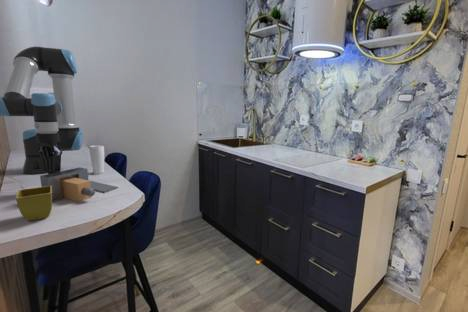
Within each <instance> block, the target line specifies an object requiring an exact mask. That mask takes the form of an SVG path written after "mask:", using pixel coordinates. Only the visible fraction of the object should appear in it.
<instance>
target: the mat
mask: <svg viewBox="0 0 468 312" xmlns="http://www.w3.org/2000/svg"><path fill="white" fill-rule="evenodd" d="M88 181H90V186H91V189H94V190H95V192H99V193H104V194H105V192H106V193H108V191H109V192H111V191H113V189H114V190H116V188H117V189H119V186H115V185H111V184H106V183H102V182H97V181H93V180H89V179H88ZM110 190H111V191H110Z"/></svg>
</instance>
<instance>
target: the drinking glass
mask: <svg viewBox="0 0 468 312" xmlns="http://www.w3.org/2000/svg"><path fill="white" fill-rule="evenodd" d="M89 155H90V161H91V162H90V163H91V167H92V173H93V175H101V174H104V173H105V146H104V145H100V144H96V145H94V144H93V145H90V146H89Z"/></svg>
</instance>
